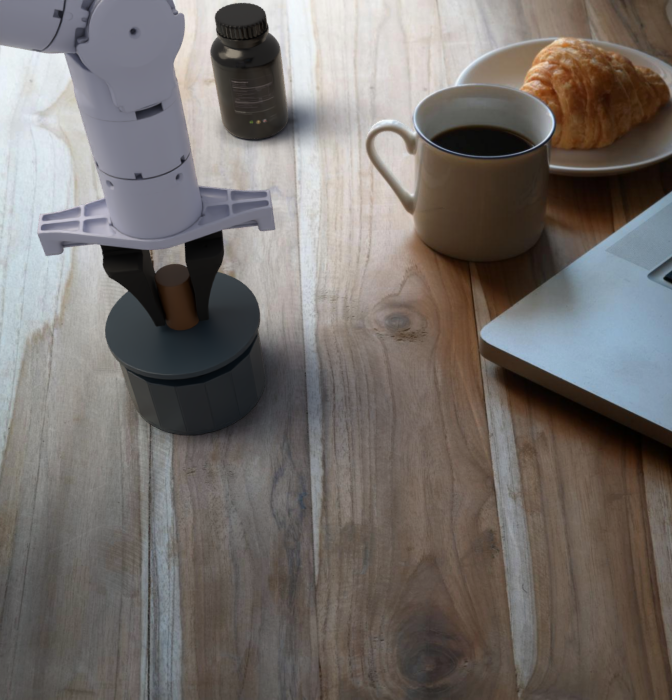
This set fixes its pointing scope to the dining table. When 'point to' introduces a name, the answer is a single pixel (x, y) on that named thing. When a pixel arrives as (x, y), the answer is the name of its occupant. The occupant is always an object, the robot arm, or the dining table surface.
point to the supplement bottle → (248, 73)
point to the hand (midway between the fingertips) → (182, 313)
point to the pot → (200, 395)
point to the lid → (183, 327)
